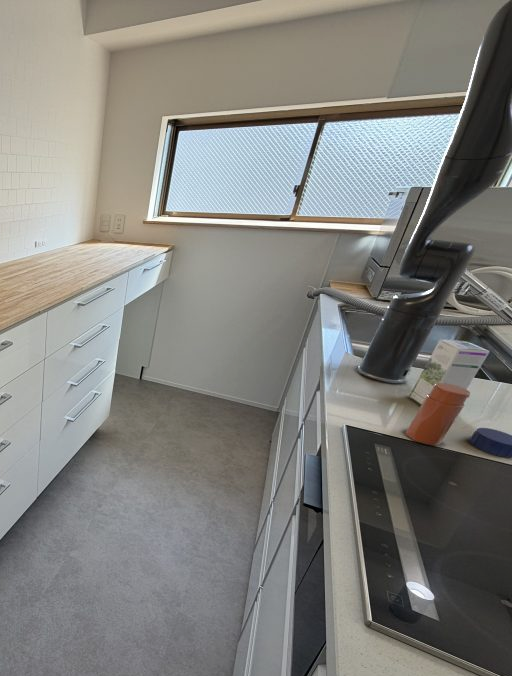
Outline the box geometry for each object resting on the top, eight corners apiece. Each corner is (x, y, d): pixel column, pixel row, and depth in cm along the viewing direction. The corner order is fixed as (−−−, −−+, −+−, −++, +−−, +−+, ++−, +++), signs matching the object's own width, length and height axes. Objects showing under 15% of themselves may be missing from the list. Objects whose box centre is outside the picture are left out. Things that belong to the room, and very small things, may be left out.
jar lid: (492, 456, 75) (500, 445, 74) (460, 438, 80) (467, 426, 79) (525, 458, 75) (534, 446, 74) (490, 439, 80) (498, 428, 79)
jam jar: (398, 430, 82) (426, 381, 77) (424, 431, 82) (454, 383, 77) (419, 444, 78) (450, 393, 73) (447, 446, 77) (480, 395, 72)
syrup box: (454, 412, 90) (493, 350, 83) (423, 408, 91) (459, 347, 84) (435, 400, 95) (470, 341, 88) (406, 396, 96) (438, 338, 89)
